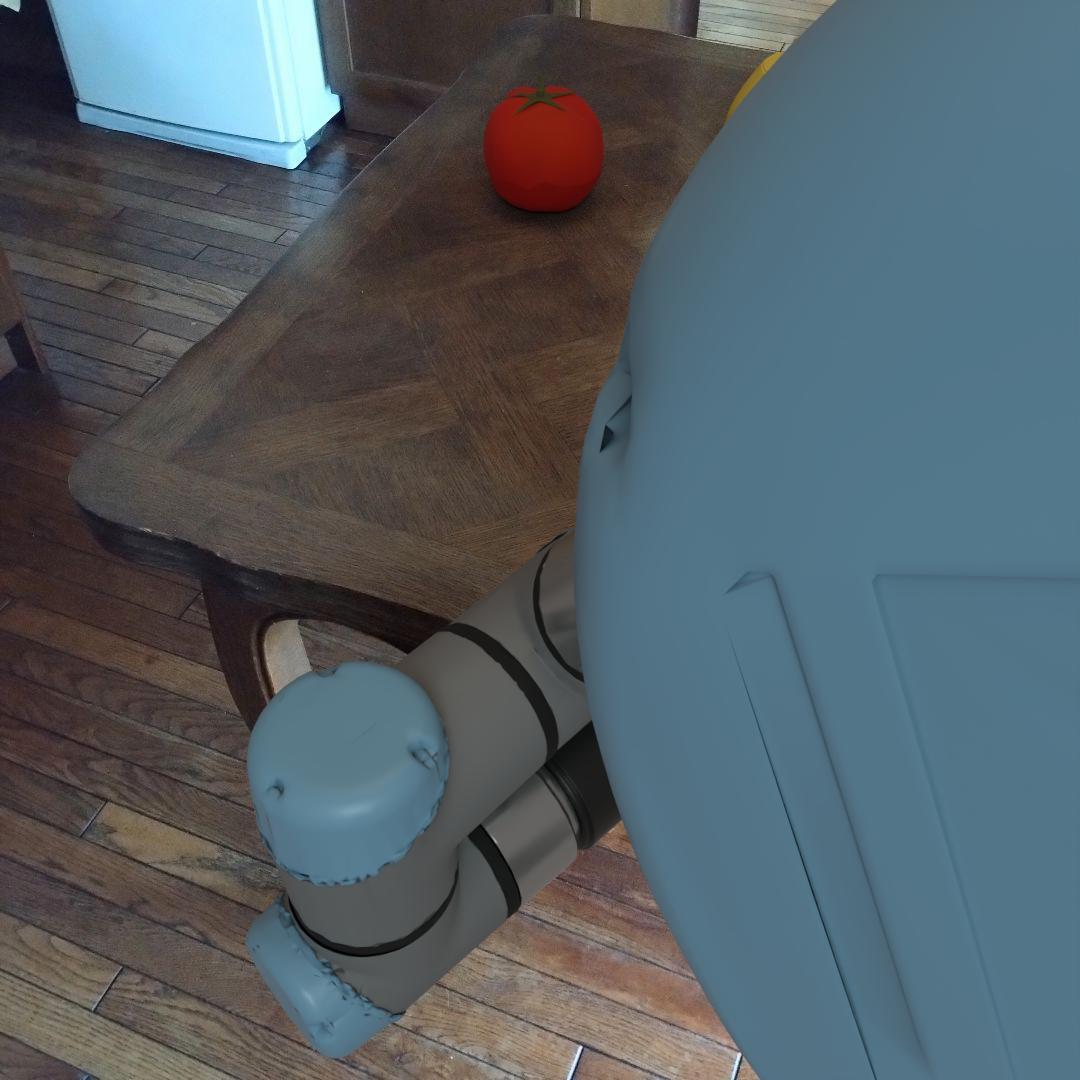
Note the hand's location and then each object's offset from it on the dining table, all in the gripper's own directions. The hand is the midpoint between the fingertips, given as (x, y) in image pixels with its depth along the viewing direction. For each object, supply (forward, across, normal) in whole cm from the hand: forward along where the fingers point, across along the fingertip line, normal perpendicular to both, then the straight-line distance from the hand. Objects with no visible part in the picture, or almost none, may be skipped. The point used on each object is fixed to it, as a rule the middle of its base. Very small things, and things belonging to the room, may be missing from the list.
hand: (791, 587), depth 65 cm
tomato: (+29, -54, -6) cm, 62 cm away
